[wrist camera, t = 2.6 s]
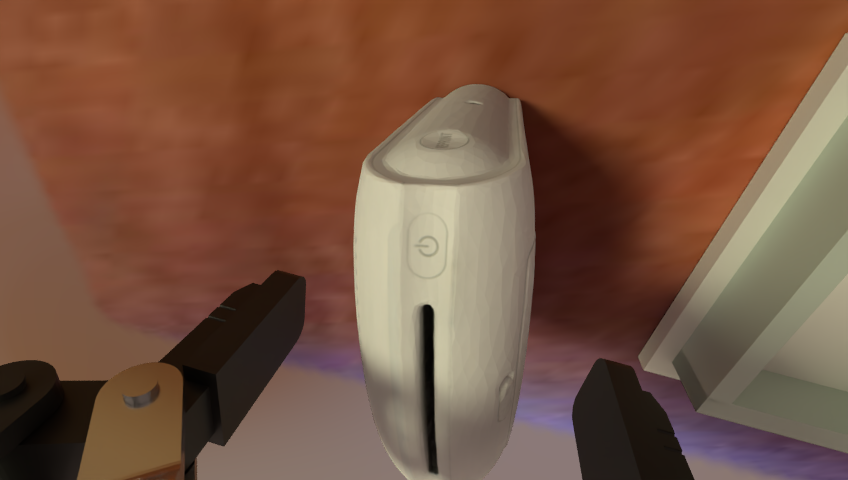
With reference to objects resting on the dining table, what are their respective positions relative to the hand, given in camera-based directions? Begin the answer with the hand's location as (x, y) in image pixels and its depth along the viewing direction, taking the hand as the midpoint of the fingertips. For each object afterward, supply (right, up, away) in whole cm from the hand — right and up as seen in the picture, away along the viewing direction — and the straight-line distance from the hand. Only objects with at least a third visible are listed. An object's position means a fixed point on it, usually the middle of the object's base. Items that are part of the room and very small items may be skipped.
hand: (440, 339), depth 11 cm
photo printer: (+2, +5, +8) cm, 10 cm away
